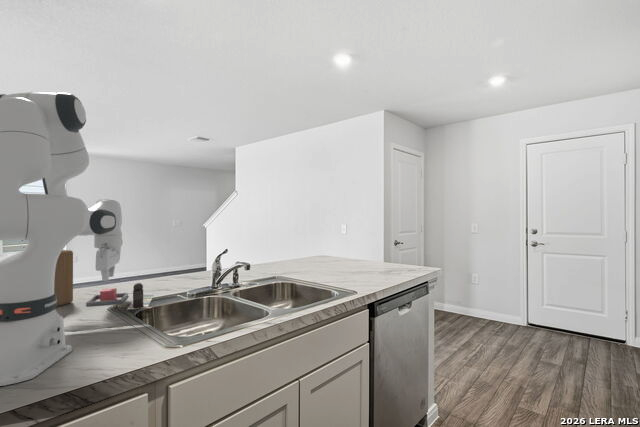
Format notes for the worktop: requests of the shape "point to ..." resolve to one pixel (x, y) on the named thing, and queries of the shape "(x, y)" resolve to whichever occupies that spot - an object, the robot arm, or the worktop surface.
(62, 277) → the wooden block
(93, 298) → the dice tray
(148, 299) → the board
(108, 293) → the red cube
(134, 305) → the pawn
